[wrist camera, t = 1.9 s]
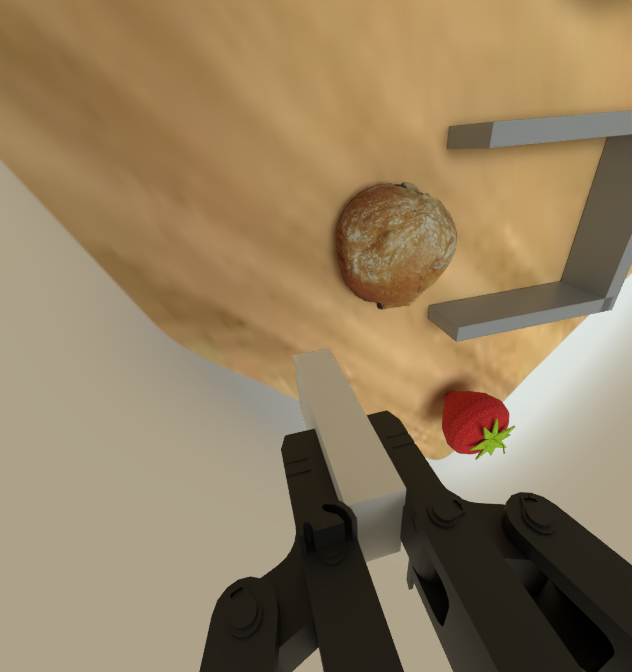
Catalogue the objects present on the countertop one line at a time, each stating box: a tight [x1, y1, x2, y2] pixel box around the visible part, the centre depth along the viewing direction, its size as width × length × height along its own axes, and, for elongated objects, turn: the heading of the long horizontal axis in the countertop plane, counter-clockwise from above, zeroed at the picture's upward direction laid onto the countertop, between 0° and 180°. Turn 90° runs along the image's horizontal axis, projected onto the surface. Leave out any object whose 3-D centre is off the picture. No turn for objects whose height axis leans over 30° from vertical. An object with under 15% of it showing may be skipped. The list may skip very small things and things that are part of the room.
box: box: [428, 111, 632, 342], centre depth 29 cm, size 17×18×5 cm
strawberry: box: [442, 391, 515, 459], centre depth 37 cm, size 6×8×10 cm
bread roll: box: [336, 182, 457, 310], centre depth 27 cm, size 10×10×8 cm
